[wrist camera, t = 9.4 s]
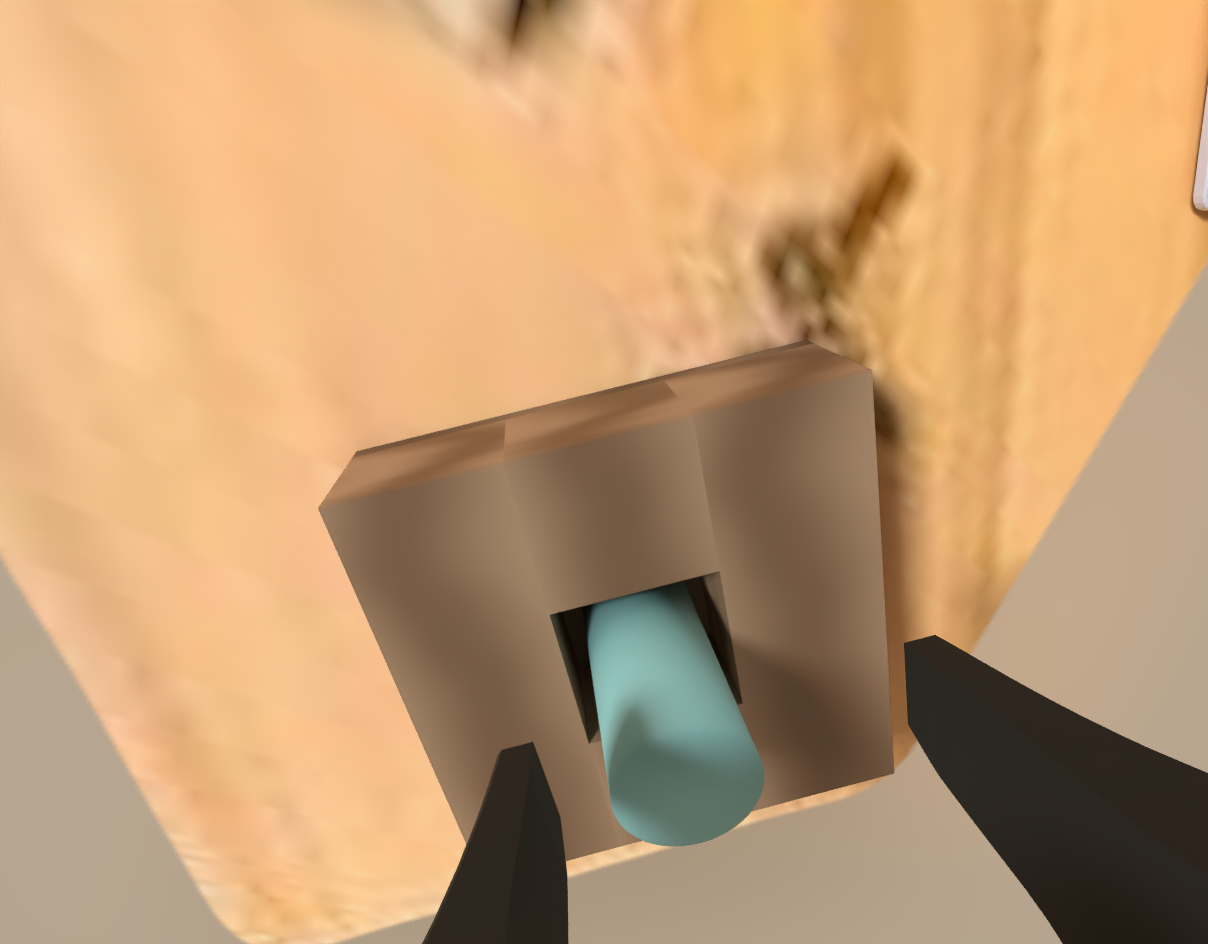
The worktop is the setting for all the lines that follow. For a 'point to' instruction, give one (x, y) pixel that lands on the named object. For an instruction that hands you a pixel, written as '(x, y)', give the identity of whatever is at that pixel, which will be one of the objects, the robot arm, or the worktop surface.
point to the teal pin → (668, 720)
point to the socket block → (633, 571)
